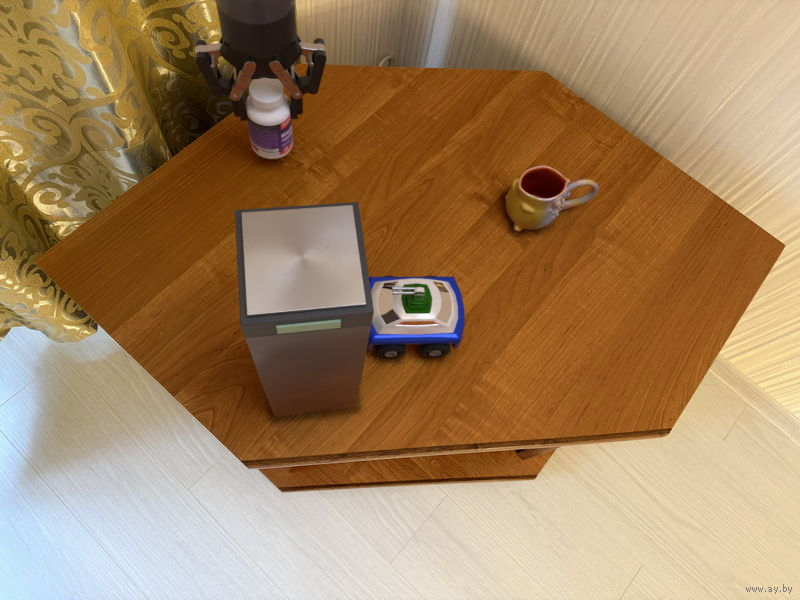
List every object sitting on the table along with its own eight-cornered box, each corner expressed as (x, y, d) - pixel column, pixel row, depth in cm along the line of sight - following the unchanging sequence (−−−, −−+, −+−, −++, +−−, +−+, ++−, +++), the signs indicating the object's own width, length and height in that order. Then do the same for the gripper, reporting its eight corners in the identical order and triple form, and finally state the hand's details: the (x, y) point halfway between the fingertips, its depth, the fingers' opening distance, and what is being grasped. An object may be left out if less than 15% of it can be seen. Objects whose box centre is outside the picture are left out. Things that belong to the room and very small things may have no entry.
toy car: (357, 287, 72) (361, 250, 64) (453, 286, 74) (470, 250, 65) (359, 360, 69) (364, 331, 60) (461, 357, 70) (480, 329, 62)
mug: (507, 235, 78) (522, 207, 72) (497, 190, 80) (511, 160, 74) (593, 230, 80) (615, 203, 74) (581, 187, 82) (601, 157, 76)
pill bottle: (291, 162, 76) (287, 109, 67) (248, 158, 76) (239, 104, 67) (295, 128, 78) (291, 73, 70) (253, 125, 78) (245, 68, 69)
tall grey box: (274, 419, 65) (239, 325, 39) (268, 340, 68) (233, 206, 43) (356, 409, 66) (374, 312, 41) (346, 332, 70) (358, 198, 44)
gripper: (326, -34, 59) (325, 89, 75) (176, -36, 57) (206, 92, 72) (334, 20, 57) (331, 137, 72) (176, 21, 54) (208, 142, 69)
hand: (268, 114), depth 72 cm, fingers closed on pill bottle, 5 cm apart
